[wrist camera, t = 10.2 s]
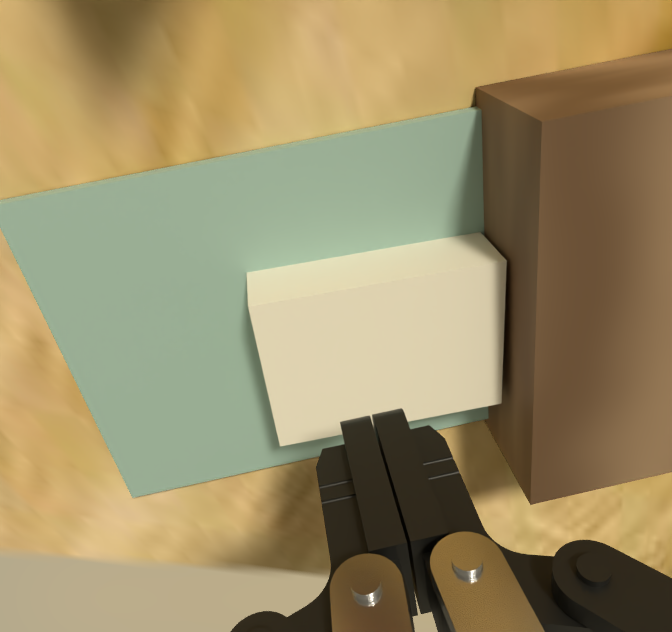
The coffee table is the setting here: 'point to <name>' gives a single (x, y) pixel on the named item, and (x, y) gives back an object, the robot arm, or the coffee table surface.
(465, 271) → the tile
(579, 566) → the robot arm
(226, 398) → the mat
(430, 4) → the coffee table surface
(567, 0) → the coffee table surface
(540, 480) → the wooden block
